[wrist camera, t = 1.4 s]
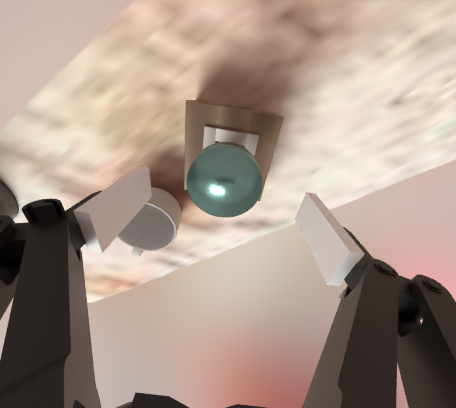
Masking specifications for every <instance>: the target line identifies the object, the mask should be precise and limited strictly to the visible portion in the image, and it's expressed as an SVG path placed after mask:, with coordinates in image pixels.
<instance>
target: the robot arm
mask: <svg viewBox="0 0 456 408" xmlns="http://www.w3.org/2000/svg"><path fill="white" fill-rule="evenodd" d="M151 197H152V193H151V182H150V171H149V167H143V166H139V167H138V168H136V169H135V170H133V171H132V172H130V173H129V174H127V175H126V176H124V177H123V178H121V179H120V180H118V181H117V182H115V183H114V184H112V185H111V186H109V187H108V188H106V189H105V190H103V191H98V192H96V193H93V194H91V195H89V196H88V197H86V198H85V199H83V200H82V201H80V202H78V203H77V204H75V205H74V206H72V207H71V208H69V209H68V210H66V211H65V210H64V208H63V205H62V203H61V201H60V200H57V199H42V200H37V201H34V202H31V203H28V204H27V205H25V206H24V207H23V208H22V211H23V213H24V215H25V217H26V218H27V220H28V222H29V223H15V222H14V221H13V219H14V218H15V217H16V216H17V213H18V207H17V203H16V201H15V199H14V197H13V195H12V194H11V192H10V191H9V190H8V189H7V188H6V187H5V185H4V184H3V183H2V182H0V320H1V318H2V316H3V314H4V313H5V311H6V309H7V307H8V306H9V304H10V302H11V300H12V299H13V297H14V299H13V304H12V308H11V313H10V318H9V322H8V327H7V332H6V337H5V341H4V346H3V350H2V355H1V360H0V408H101V404H100V399H99V395H98V391H97V388H96V384H95V376H94V367H93V356H92V347H91V338H90V328H89V318H88V309H87V298H86V289H85V279H84V269H83V260H82V252H81V250H80V248H81V247H82V246H83V245H84V244H86V246H87V249H88V251H91V252H99V253H102V252H103V251H104V250H105V249H106V248H107V247H108V246H109V245H110V243H111V242H112V241H113V240H114V239H115V238H116V237H117V236H118V234H119V233H120V232H121V231H122V230H123V229H124V228H125V227H126V225H127V224H128V223H129V222H130V221H131V220H132V219H133V218H134V216H135V215H136V214H137V213H138V212H139V211H140V210H141V209H142V207H143V206H144V205H145V204H146V203H147V202H148V201H149V200H150V198H151ZM295 220H296V222H297V224H298V226H299V228H300V230H301V232H302V234H303V236H304V239H305V241H306V243H307V245H308V247H309V249H310V251H311V253H312V255H313V257H314V259H315V261H316V264H317V265H318V268H319V270H320V272H321V274H322V276H323V278H324V280H325V282H326V284H327V285H333V286H340V284H341V283H342V282H343V281H344V280H345V282H346V283H347V285H348V286H347V287H346V289H345V290H344V291H343V292H342V293H341V295H340V296H339V298H341V297H342V298H341V301H340V304H339V307H338V310H337V312H336V315H335V318H334V321H333V324H332V326H331V329H330V332H329V335H328V337H327V340H326V343H325V346H324V349H323V351H322V354H321V357H320V360H319V363H318V365H317V368H316V371H315V374H314V377H313V380H312V382H311V385H310V388H309V391H308V393H307V396H306V399H305V402H304V404H303V407H302V408H396V385H397V383H396V381H397V363H398V366H399V370H400V375H401V379H402V382H403V386H404V391H405V395H406V399H407V402H408V406H409V408H456V302H455V300H454V299H453V297H452V296H451V294H450V293H449V292H448V290H447V289H446V288H444V287H443V286H442V285H441V284H440V283H438V282H436V280H434V279H431V278H429V277H427V276H423V275H416V276H415V277H414V278H413V279H411V280H410V279H407V278H404V277H402V276H399V275H398V273H397V272H396V271H395V270H394V269H393V268H392V267H391V266H390V265H388V264H387V263H385V262H383V261H380V260H378V259H373V257H372V256H371V255H370V254H369V253H368V252H367V250H366V249H365V248H364V247H363V246H362V245H361V244H360V242H359V241H358V240H357V239H356V238H355V237H354V235H353V234H352V233H351V232H350V231H348V230H347V229H346V228H344V227H342V226H341V225H340V224H339V222H338V221H337V220H336V218H335V217H334V216H333V215H332V214H331V212H330V211H329V210H328V209H327V207H326V206H325V205H324V204H323V203H322V201H321V200H320V199H319V198H318V196H317V195H316V194H313V193H307V192H306V195H305V197H304V199H303V202H302V204H301V206H300V209H299V211H298V213H297V216H296V218H295ZM421 319H423V322H422V324H421V322H420V320H421ZM117 408H189V407H187V406H185V405H183V404H182V403H180V402H178V401H176V400H175V399H173V398H171V397H169V396H161V395H152V394H144V393H135V396H134V399H133V402H129V403H126V404H124V405H121V406H119V407H117ZM227 408H265V407H257V406H248V405H239V404H237V405H233V406H230V407H227Z"/></svg>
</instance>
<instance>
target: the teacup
mask: <svg viewBox="0 0 456 408" xmlns="http://www.w3.org/2000/svg"><path fill="white" fill-rule="evenodd" d="M151 193H152V197H151V198H150V200H149V201H148V202H147V203H146V204H145V205H144V206H143V207H142V209H141V210H140V211H139V212H138V213H137V214H136V215H135V216H134V218H133V219H132V220H131V221H130V222H129V223H128V224H127V225H126V227H125V228H124V229H123V230H122V231H121V232H120V233H119V234H118V236H117V237H118V238H119V239H120V240H121V241H123V242H124V243H126V244H128V245H130V246H132V247H134V248H133V251H132V254H133V255H135V256H140V255H141V254H142V252H143V250H146V251H157V250H161V249H164V248H166V247H168V246H169V245H171V244H172V243H173V241H174V240H175V238H176V235H177V230H178V227H179V224H180V219H181V209H180V206H179V204H178V202H177V200H176V199H175V198H174V197H173V196H172V195H171V194H170V193H168V192H167V191H165V190H163V189H160V188H156V187H151Z"/></svg>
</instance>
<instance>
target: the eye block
mask: <svg viewBox="0 0 456 408" xmlns="http://www.w3.org/2000/svg"><path fill="white" fill-rule="evenodd" d="M283 118H284V117H282V116H279V115H276V114H273V113H267V112H261V111H255V110H250V109H244V108H238V107H232V106H226V105H221V104H215V103H209V102H203V101H197V100H186V118H185V169H184V190H187V174H188V171H189V168H190V166H191V165H192V163H193V161H194V160H195V159H196V157H197V156H198V154H199V153H200V152H201V151H202V150H203V149H204V148H206V147H207V146H209V145H211V144H214V143H218V141H219V142H232V143H236V144H239V145H242V146H243V147H244V148H246V149H247V150H248V151H249V152H250V153H251V154H252V155H253V156H254V158H255V159H256V161H257V164H258V167H259V169H260V172H261V176H262V191H261V194H260V197H259V199H258V201H260V199H261V195H262V192H263V188H264V185H265V181H266V178H267V174H268V171H269V167H270V164H271V160H272V157H273V153H274V149H275V146H276V142H277V139H278V135H279V132H280V128H281V125H282V121H283Z"/></svg>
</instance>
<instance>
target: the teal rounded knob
mask: <svg viewBox="0 0 456 408" xmlns="http://www.w3.org/2000/svg"><path fill="white" fill-rule="evenodd" d="M187 190H188V193H189V195H190V197H191V199H192V200H193V202H194V203H195V204H196V205H197V206H198V207H199V208H200V209H201V210H203V211H204V212H206V213H208V214H210V215H213V216H217V217H234V216H238V215H241V214H243V213H245V212H246V211H248V210H249V209H251V208H252V207H253V206H254V205H255V203H256V202H257V201H258V199H259V197H260V194H261V191H262V176H261V172H260V169H259V167H258V164H257V161H256V159H255V158H254V156H253V155H252V154H251V153H250V152H249V151H248V150H247V149H246V148H244V147H243V146H241V145H239V144H236V143H232V142H218V143H214V144H211V145H209V146H207V147H206V148H204V149H203V150H202V151H201V152H200V153H199V154H198V156H197V157H196V159H195V160H194V161H193V163H192V165H191V166H190V168H189V171H188V174H187Z"/></svg>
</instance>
